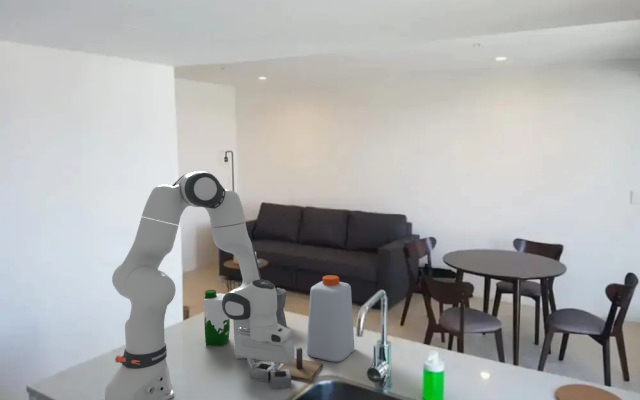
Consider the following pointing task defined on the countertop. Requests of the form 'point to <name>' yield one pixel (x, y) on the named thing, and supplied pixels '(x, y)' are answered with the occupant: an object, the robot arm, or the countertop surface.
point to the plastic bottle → (330, 320)
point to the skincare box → (237, 325)
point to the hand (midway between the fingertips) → (264, 371)
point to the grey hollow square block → (262, 371)
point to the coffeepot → (280, 305)
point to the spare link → (280, 379)
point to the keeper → (302, 367)
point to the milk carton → (215, 319)
